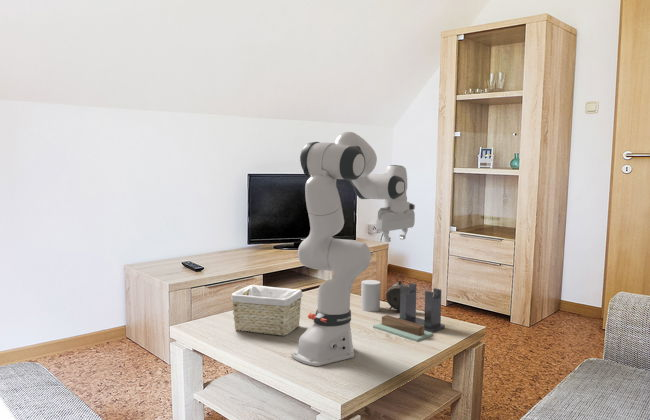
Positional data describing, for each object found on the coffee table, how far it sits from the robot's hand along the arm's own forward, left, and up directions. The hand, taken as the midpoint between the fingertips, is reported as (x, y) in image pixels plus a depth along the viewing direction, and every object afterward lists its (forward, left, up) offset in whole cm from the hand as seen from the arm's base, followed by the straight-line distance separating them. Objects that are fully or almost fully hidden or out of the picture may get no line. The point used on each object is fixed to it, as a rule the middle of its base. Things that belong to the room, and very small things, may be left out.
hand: (395, 240), depth 213 cm
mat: (-7, -10, -33) cm, 35 cm away
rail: (-7, -10, -32) cm, 35 cm away
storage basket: (-42, +29, -34) cm, 61 cm away
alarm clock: (+12, +7, -33) cm, 36 cm away
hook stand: (+4, -10, -33) cm, 35 cm away
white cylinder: (+6, +18, -33) cm, 38 cm away
